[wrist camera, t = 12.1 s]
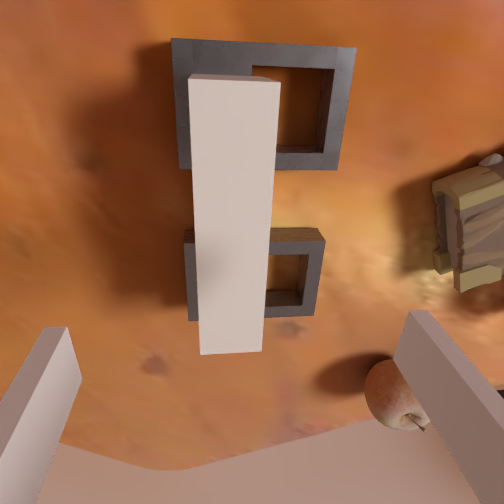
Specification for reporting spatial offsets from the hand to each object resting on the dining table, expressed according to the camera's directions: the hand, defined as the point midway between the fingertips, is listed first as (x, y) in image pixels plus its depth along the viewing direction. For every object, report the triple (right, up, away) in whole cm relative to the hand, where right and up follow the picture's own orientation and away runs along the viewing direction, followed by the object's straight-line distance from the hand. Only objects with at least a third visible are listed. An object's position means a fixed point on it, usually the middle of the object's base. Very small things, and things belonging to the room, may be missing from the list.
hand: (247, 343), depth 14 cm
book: (+24, +9, +19) cm, 32 cm away
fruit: (+16, -11, +28) cm, 34 cm away
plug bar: (-2, +8, +15) cm, 17 cm away
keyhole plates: (0, +8, +15) cm, 17 cm away
